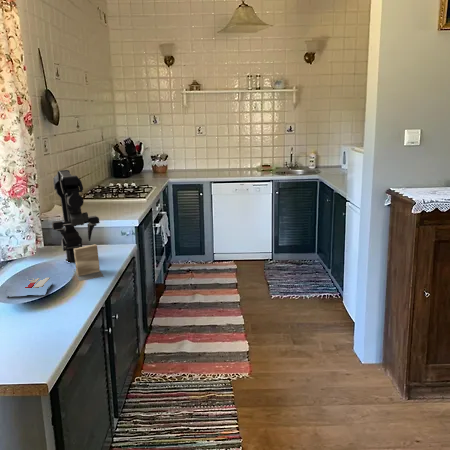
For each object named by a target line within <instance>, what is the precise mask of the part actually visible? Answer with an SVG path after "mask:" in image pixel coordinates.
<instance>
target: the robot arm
mask: <svg viewBox="0 0 450 450" xmlns="http://www.w3.org/2000/svg"><path fill="white" fill-rule="evenodd" d="M52 181H53V182H52V185H53V190H55V193H56V195H57V196H58V197H59V198H60V205H61V211H62V217H63V221H62V220H55V221H54V220H53V221H52V222H51V228H52V230H54V231H57V232H60V234H61V235H62V238H61V249H62V251H63V252H65V255H66V258H65V261H68V262H70V263H69V264H71V263H75V256H74V248H79V247H83V238H82V237H81V235H80V234H79V232H78V230H76V228H75V227H76V226H84V225H85V224H87V239H88V241H89V242H90V241H91V238H92V233H93V231H94V230H93V229H94V228H95V227H97V225H98V224H100V223H101V222H100V217H98V216H97V215H91V216H90V215H89V213H88V212H87V211H86V212H82V207H83V205H84V198H83V196H81V194H80V193H83V190H84V186H83V182H82V180H81V178H80V177H78V176H77V175H72V174H71V173H70V170H69V169H64V170H57V174H56V175H55V176H54V177H53V179H52Z"/></svg>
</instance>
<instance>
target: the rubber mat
mask: <svg viewBox="0 0 450 450" xmlns="http://www.w3.org/2000/svg"><path fill="white" fill-rule="evenodd" d="M75 275H76V277H77V279H78V281H79V282H83V281H88V280H92V279H97V278H103V277H105V276H104V274H103V273H102V270H100V271H99V272H95V273H91V274H86V275H82V276H78V275H77V272H76V273H75Z"/></svg>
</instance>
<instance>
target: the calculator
mask: <svg viewBox="0 0 450 450" xmlns="http://www.w3.org/2000/svg"><path fill="white" fill-rule="evenodd" d="M36 278H37V279H35V280H34V278H32V279H33V280H29V281H31V282H30V284H29V285H28V287H25V288H32V287H33V286H34V284H35V283H36V282H37V281H38V280H39V279H41V277H36ZM44 278H45V279H43V280H40V281H38V282H37V283H36V285H35V286H34V287H33V288H39V287H43V286H44V284H45V283H46V282H47V281H48V280H49V279H50V278H51V277H44Z"/></svg>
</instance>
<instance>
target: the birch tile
mask: <svg viewBox="0 0 450 450" xmlns="http://www.w3.org/2000/svg"><path fill="white" fill-rule="evenodd" d="M74 256H75V262H74V263H75V269H76V272H77V275H78V276H82V275H86V274H91V273H95V272H99V271H101V269H100V259H99V250H98V245H97V244H90V245H85V246H82V247H79V248H74Z"/></svg>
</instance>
